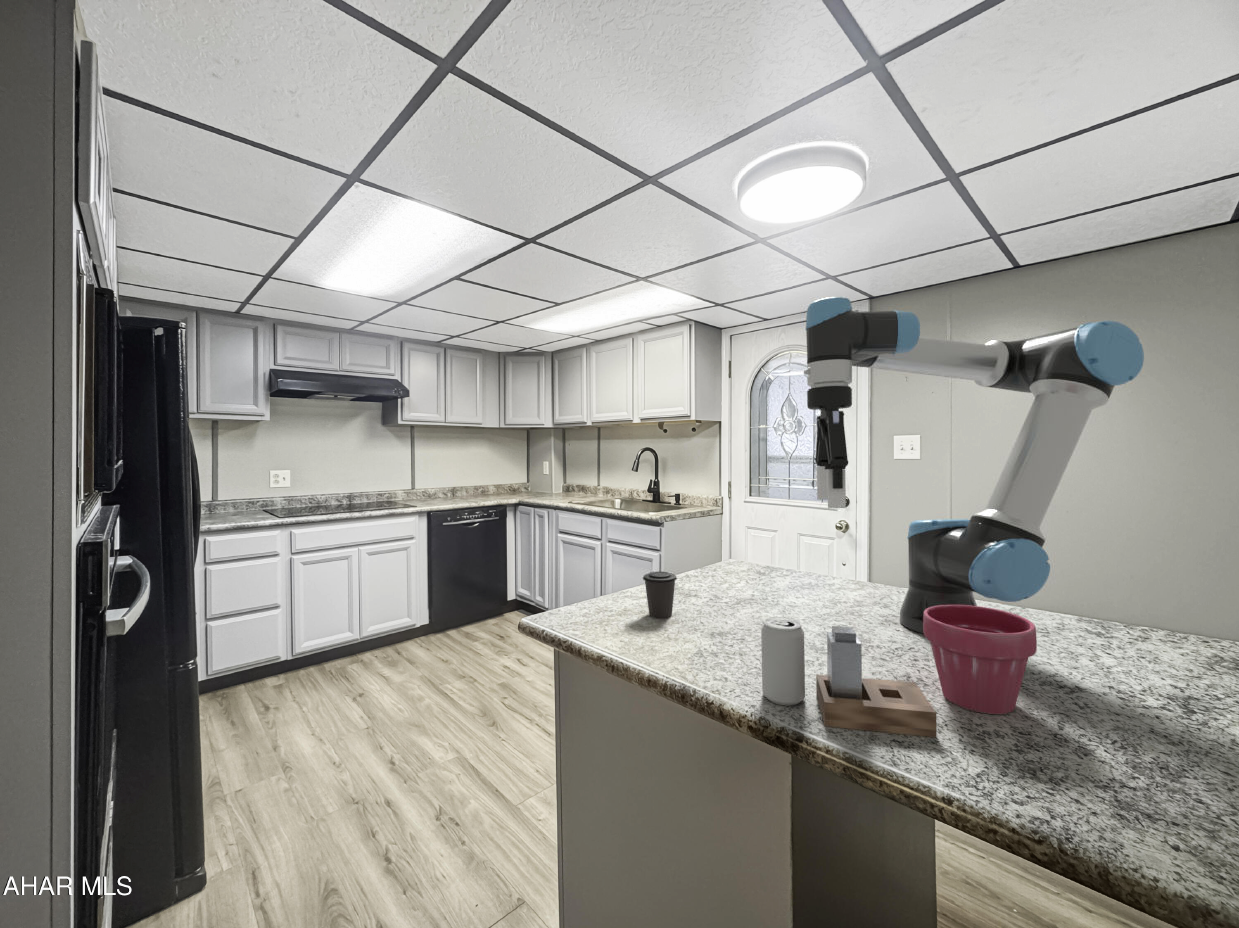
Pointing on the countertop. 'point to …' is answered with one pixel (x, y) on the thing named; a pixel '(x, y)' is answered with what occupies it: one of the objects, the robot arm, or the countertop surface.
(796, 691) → the beverage can
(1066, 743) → the countertop surface
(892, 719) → the socket block
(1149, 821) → the countertop surface
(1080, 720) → the countertop surface
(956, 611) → the plant pot
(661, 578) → the coffee cup
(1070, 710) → the countertop surface
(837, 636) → the grey square peg
